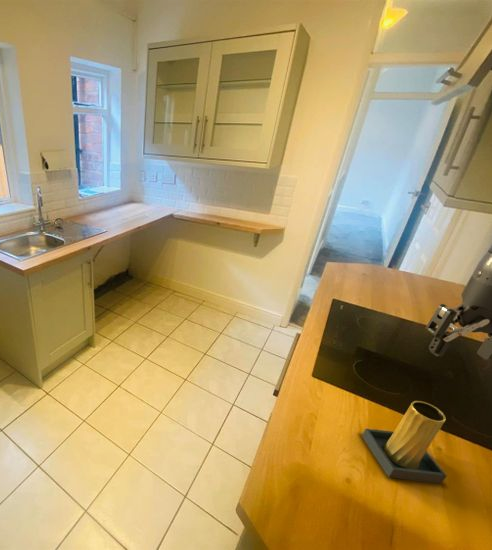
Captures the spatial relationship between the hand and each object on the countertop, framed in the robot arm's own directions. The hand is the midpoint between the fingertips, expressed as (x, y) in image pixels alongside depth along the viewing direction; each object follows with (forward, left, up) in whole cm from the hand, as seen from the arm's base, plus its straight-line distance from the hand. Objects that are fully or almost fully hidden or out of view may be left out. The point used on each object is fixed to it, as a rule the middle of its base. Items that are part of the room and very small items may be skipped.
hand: (459, 355), depth 58 cm
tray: (+3, +3, -27) cm, 27 cm away
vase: (+3, +3, -27) cm, 27 cm away
